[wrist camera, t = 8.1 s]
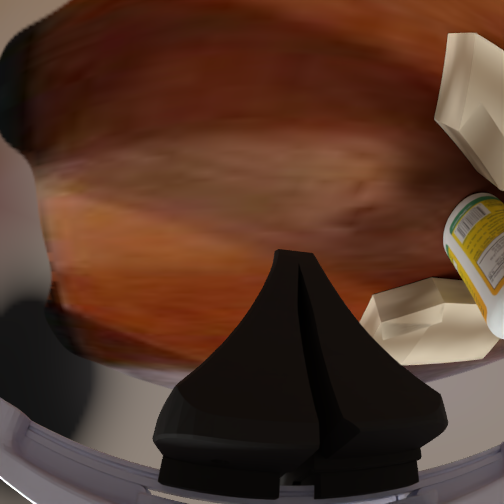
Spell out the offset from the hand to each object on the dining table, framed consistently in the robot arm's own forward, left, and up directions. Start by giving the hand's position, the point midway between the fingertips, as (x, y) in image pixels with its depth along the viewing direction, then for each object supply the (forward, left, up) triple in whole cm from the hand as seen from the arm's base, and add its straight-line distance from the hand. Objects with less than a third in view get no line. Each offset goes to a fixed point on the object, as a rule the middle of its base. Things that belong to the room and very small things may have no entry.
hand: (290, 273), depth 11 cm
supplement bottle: (0, -12, -6) cm, 14 cm away
